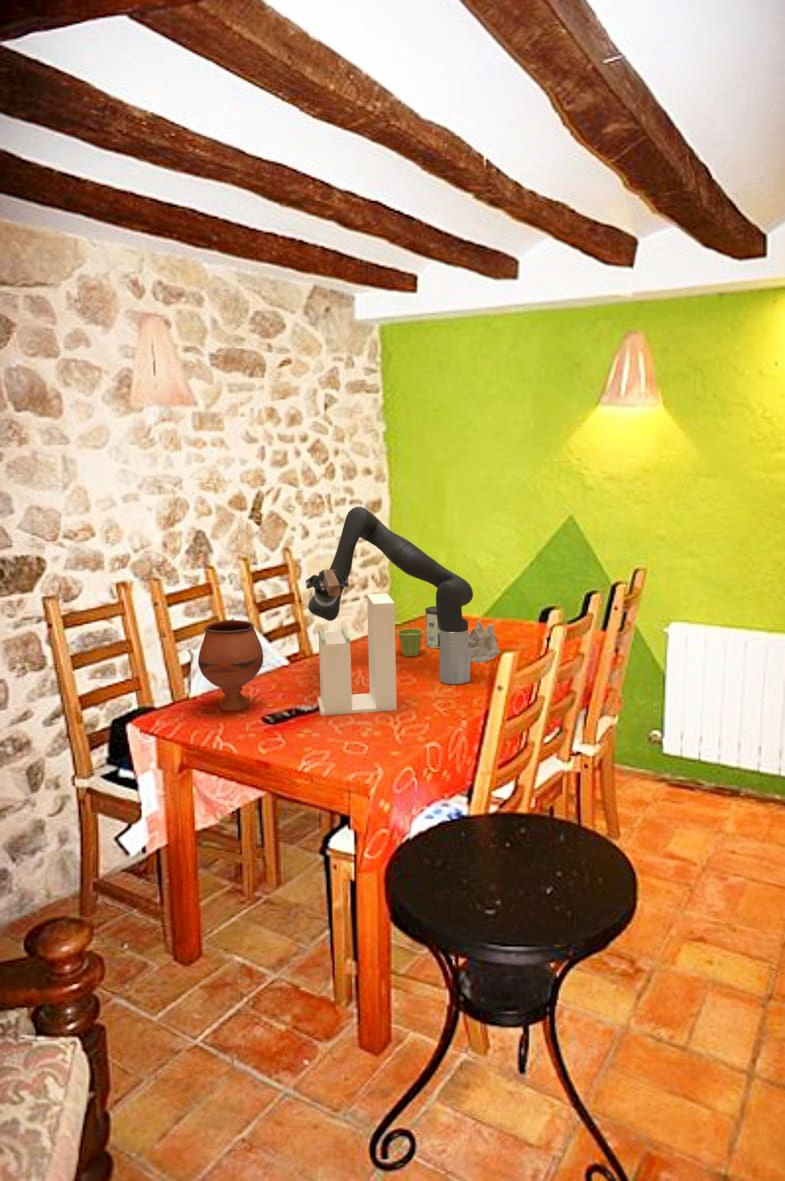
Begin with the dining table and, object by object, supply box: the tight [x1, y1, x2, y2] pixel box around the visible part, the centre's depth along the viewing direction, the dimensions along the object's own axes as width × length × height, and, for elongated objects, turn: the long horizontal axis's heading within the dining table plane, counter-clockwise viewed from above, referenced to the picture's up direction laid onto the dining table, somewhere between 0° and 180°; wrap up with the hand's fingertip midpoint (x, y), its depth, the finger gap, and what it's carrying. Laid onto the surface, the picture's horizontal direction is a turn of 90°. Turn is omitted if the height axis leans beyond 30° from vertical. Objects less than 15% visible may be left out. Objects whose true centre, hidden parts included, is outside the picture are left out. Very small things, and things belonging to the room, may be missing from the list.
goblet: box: [197, 619, 264, 712], centre depth 238 cm, size 19×19×25 cm
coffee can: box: [424, 605, 440, 649], centre depth 304 cm, size 10×10×14 cm
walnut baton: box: [323, 568, 340, 596], centre depth 233 cm, size 3×26×3 cm, turn 9°
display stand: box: [317, 593, 397, 716], centre depth 236 cm, size 22×14×32 cm, turn 99°
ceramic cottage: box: [468, 620, 501, 664], centre depth 287 cm, size 16×16×15 cm
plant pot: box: [396, 628, 424, 657], centre depth 292 cm, size 9×9×9 cm
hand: (328, 573), depth 240 cm, fingers closed on walnut baton, 3 cm apart
